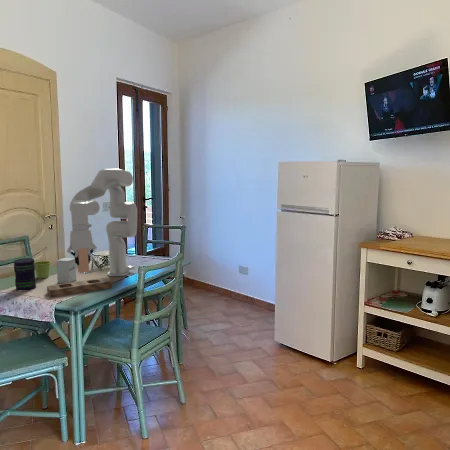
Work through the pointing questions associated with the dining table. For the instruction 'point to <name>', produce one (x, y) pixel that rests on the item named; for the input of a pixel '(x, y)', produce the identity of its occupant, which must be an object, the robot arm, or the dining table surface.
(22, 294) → the dining table surface
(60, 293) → the rail
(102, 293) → the dining table surface
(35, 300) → the dining table surface
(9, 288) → the dining table surface
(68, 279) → the supplement box
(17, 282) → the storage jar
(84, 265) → the peg
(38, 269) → the plant pot
